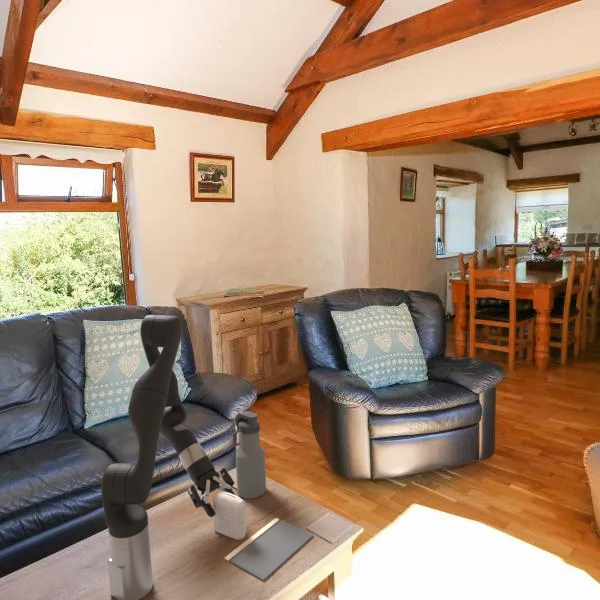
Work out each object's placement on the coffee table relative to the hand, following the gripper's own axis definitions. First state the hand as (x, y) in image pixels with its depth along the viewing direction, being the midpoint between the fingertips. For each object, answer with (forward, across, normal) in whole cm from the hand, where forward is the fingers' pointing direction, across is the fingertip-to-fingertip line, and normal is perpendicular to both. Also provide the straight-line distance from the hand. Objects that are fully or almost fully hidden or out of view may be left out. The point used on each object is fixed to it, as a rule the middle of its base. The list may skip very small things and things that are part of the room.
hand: (224, 508), depth 142 cm
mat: (+16, +2, -6) cm, 18 cm away
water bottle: (0, +20, +11) cm, 23 cm away
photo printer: (+7, 0, +4) cm, 8 cm away
